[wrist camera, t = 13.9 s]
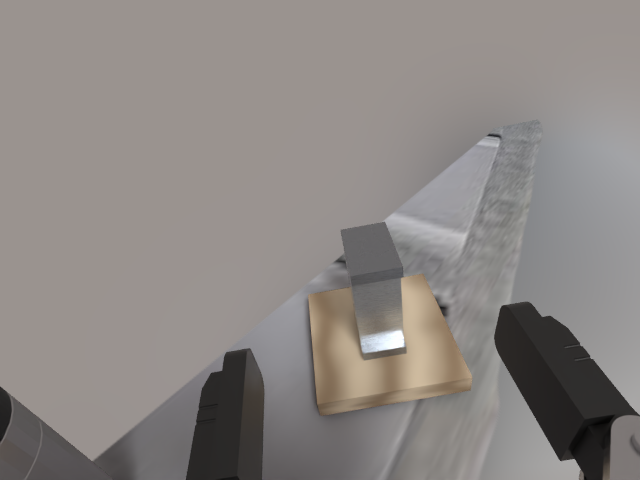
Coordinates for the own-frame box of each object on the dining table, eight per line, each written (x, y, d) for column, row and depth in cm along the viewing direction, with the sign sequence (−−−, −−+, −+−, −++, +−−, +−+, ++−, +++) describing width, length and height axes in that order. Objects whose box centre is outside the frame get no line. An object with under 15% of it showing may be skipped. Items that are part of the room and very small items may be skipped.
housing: (363, 360, 38) (350, 276, 31) (353, 310, 44) (340, 229, 37) (406, 353, 38) (402, 266, 31) (391, 304, 44) (384, 221, 37)
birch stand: (322, 419, 37) (317, 404, 35) (312, 310, 49) (308, 294, 47) (470, 394, 37) (472, 377, 35) (423, 290, 49) (423, 273, 47)
